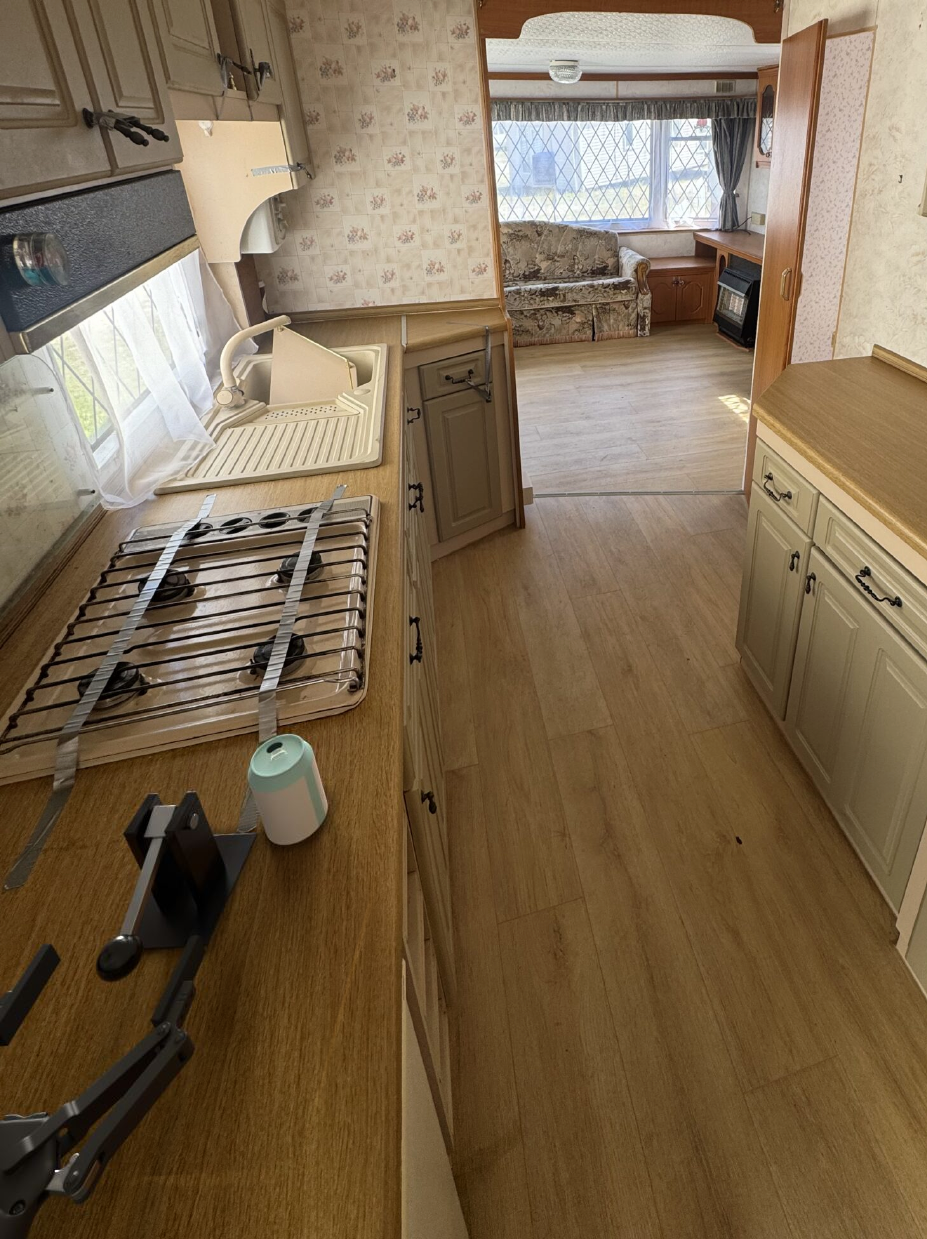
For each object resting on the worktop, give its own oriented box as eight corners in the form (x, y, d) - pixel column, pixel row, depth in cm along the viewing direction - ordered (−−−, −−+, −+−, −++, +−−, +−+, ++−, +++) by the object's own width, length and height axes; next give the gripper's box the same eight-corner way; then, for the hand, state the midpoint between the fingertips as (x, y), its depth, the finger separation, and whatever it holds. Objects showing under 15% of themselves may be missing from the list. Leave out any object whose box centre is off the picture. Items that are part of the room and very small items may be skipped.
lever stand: (210, 951, 69) (172, 868, 63) (121, 956, 68) (76, 873, 63) (260, 838, 80) (232, 759, 74) (184, 842, 79) (149, 763, 74)
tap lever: (141, 981, 62) (120, 980, 60) (102, 983, 62) (79, 983, 59) (195, 810, 71) (179, 803, 69) (161, 812, 71) (144, 805, 69)
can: (254, 843, 79) (229, 774, 74) (292, 791, 85) (271, 724, 80) (305, 856, 78) (284, 787, 73) (340, 801, 84) (322, 734, 79)
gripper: (-242, 1345, 45) (5, 977, 64) (136, 1317, 45) (267, 962, 65) (-307, 1306, 41) (-26, 931, 61) (100, 1276, 42) (249, 917, 62)
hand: (126, 947), depth 63 cm, fingers open, 13 cm apart
